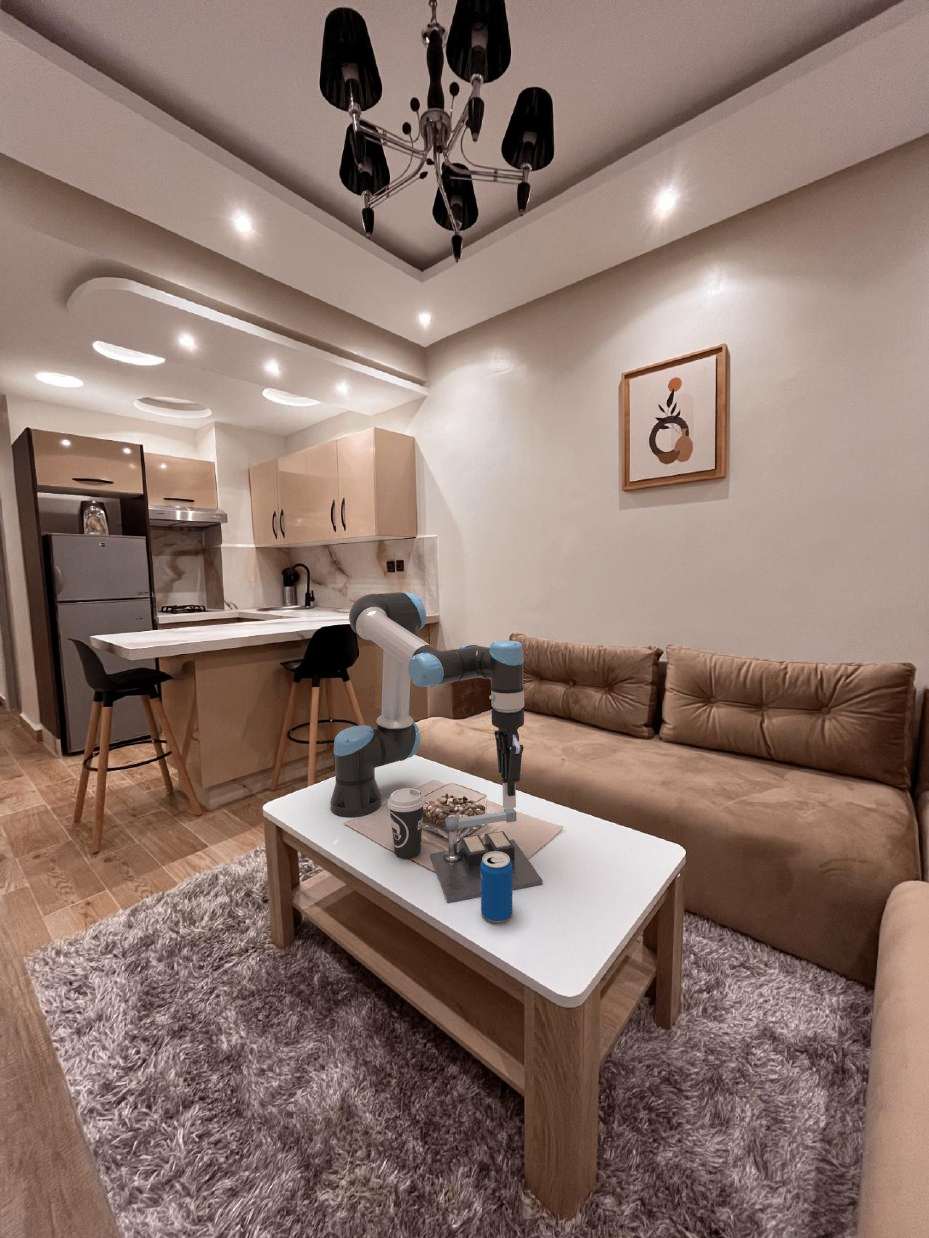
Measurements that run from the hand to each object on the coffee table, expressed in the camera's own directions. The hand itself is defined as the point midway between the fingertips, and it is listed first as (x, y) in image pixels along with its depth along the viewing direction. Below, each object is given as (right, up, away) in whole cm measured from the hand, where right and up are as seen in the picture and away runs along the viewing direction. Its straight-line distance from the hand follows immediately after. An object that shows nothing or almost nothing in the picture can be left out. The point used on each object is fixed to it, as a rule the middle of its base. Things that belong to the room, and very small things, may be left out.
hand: (509, 806), depth 117 cm
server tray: (-6, -15, +1) cm, 16 cm away
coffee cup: (-25, -15, +9) cm, 31 cm away
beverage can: (-4, -17, -14) cm, 22 cm away
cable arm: (-6, -7, +6) cm, 11 cm away
